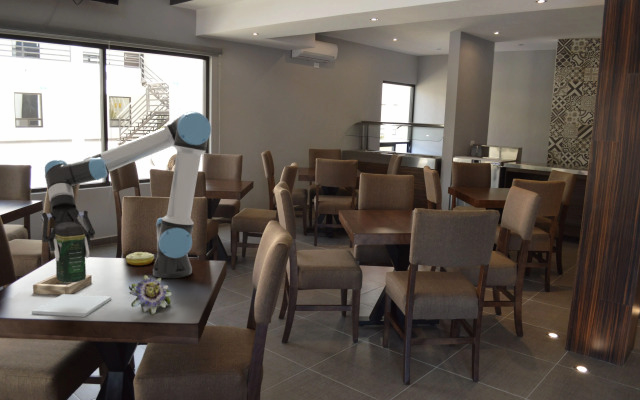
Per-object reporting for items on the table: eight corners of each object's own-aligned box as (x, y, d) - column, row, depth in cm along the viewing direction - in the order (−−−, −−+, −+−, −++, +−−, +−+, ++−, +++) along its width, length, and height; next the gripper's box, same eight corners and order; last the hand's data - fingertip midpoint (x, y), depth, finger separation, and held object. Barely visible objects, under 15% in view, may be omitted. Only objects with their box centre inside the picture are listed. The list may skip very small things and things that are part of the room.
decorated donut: (153, 259, 233) (153, 250, 232) (154, 265, 222) (154, 256, 222) (126, 260, 229) (126, 251, 228) (126, 267, 218) (126, 257, 218)
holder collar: (91, 282, 194) (91, 275, 193) (69, 295, 179) (69, 286, 179) (58, 281, 195) (58, 273, 194) (33, 293, 180) (32, 284, 180)
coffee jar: (89, 280, 166) (88, 223, 164) (63, 285, 161) (61, 226, 158) (79, 274, 173) (77, 219, 171) (53, 278, 168) (51, 221, 165)
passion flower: (153, 332, 164) (133, 305, 156) (134, 315, 172) (114, 289, 164) (184, 304, 170) (166, 277, 162) (164, 289, 178) (146, 263, 169)
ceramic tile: (111, 299, 176) (111, 296, 176) (84, 316, 159) (84, 313, 159) (63, 296, 177) (63, 294, 177) (31, 313, 160) (31, 310, 160)
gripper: (93, 205, 182) (105, 259, 172) (26, 208, 170) (34, 267, 159) (96, 191, 178) (109, 247, 167) (27, 194, 165) (36, 254, 155)
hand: (72, 257), depth 163 cm, fingers closed on coffee jar, 8 cm apart
